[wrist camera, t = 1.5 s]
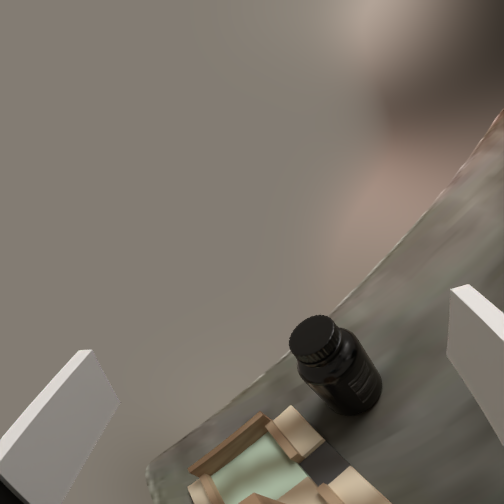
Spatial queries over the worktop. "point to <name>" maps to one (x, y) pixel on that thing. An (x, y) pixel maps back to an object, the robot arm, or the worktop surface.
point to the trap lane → (279, 467)
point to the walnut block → (259, 500)
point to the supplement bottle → (335, 365)
